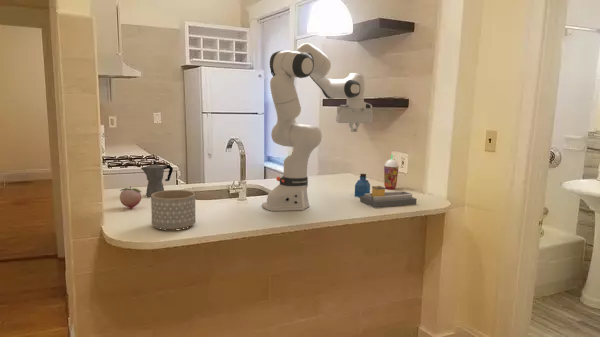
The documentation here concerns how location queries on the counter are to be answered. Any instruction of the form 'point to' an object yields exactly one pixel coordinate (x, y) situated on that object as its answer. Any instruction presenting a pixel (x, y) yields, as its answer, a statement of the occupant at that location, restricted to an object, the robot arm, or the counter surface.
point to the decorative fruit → (130, 197)
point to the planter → (173, 209)
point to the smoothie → (390, 174)
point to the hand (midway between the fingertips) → (353, 131)
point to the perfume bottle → (362, 186)
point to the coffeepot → (155, 177)
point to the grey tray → (389, 199)
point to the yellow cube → (378, 191)
